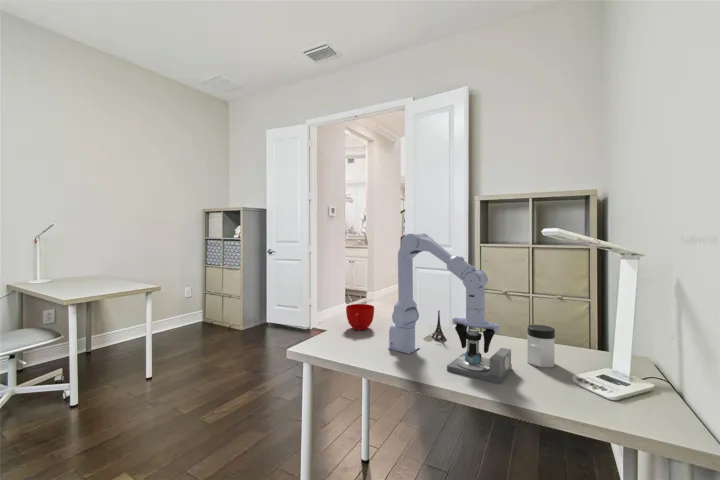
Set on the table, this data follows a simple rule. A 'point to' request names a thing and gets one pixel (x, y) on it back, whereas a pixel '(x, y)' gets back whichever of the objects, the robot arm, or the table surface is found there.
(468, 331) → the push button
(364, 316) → the ceramic cup
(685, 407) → the table surface
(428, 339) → the eiffel tower figurine
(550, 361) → the jar
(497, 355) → the postal scale
